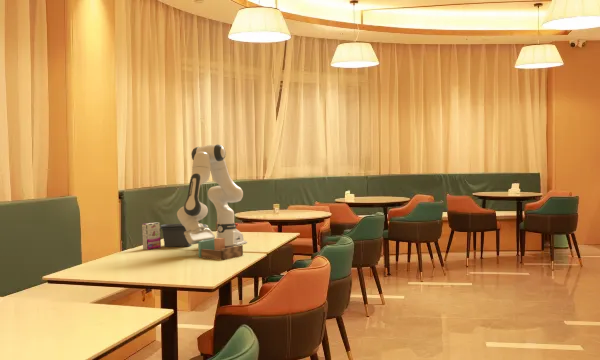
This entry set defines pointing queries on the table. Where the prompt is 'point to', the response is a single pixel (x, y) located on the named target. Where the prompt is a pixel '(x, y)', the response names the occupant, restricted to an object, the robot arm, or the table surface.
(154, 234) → the candy bar box
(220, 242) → the terracotta block
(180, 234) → the storage bin
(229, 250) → the dock
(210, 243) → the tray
